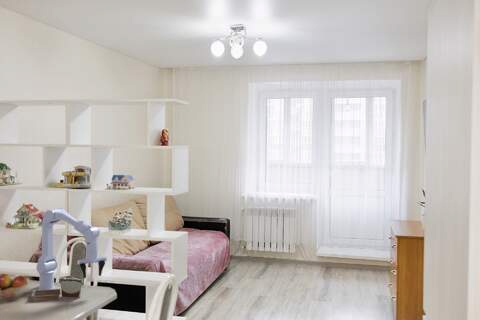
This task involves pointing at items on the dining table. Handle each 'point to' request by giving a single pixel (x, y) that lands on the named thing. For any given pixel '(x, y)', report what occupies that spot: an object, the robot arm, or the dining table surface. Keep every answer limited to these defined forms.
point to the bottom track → (45, 295)
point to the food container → (71, 286)
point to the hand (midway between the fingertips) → (92, 276)
